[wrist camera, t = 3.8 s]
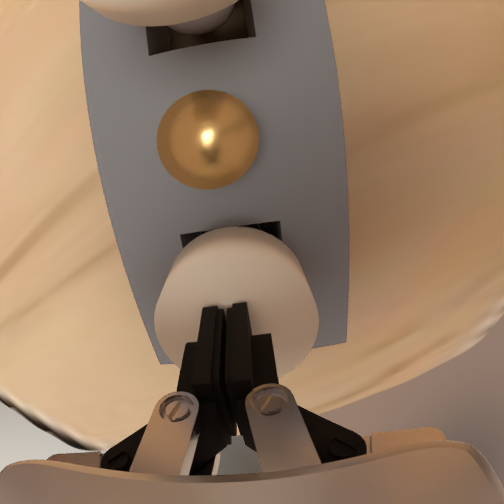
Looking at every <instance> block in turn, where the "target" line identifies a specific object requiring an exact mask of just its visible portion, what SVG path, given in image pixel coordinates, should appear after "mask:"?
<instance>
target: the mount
mask: <svg viewBox="0 0 504 504" xmlns="http://www.w3.org/2000/svg"><path fill="white" fill-rule="evenodd" d="M242 1H243V7H244V14H245V20H246V26H247V33H248V38H242V39H234V40H227V41H220V42H213V43H207V44H202V45H196V46H191V47H186V48H181V49H176V50H172V51H171V44H170V36H169V27H168V26H135V25H128V24H124V23H120V22H116V21H114V20H111V19H109V18H107V17H105V16H104V15H102V14H100V13H99V12H97V11H96V10H94V9H92V8H91V7H89V6H88V5H86V4H85V3H83V2H82V1H80V0H79V8H80V36H81V52H82V64H83V74H84V83H85V92H86V99H87V107H88V113H89V120H90V126H91V132H92V138H93V143H94V149H95V154H96V159H97V164H98V169H99V173H100V178H101V182H102V187H103V191H104V195H105V200H106V204H107V208H108V212H109V215H110V219H111V223H112V227H113V230H114V234H115V237H116V241H117V244H118V248H119V251H120V254H121V258H122V261H123V264H124V267H125V271H126V274H127V277H128V280H129V283H130V286H131V289H132V292H133V295H134V298H135V300H136V303H137V306H138V309H139V312H140V314H141V317H142V320H143V322H144V325H145V328H146V330H147V333H148V335H149V338H150V341H151V343H152V346H153V348H154V350H155V353H156V355H157V358H158V360H159V362H160V364H174V363H173V362H172V361H171V360H170V359H169V357H168V356H167V355H166V354H165V352H164V351H163V349H162V348H161V346H160V344H159V341H158V339H157V336H156V332H155V326H154V313H155V308H156V304H157V302H158V299H159V297H160V294H161V292H162V289H163V287H164V284H165V282H166V280H167V277H168V275H169V272H170V270H171V268H172V265H173V263H174V261H175V259H176V258H177V256H178V254H179V253H180V252H181V251H182V249H183V248H184V247H185V246H186V245H187V244H189V243H190V242H191V241H192V240H194V239H195V238H197V237H198V236H200V235H202V234H201V231H207V230H214V229H219V228H224V227H235V226H242V225H250V224H257V223H265V222H272V221H273V230H274V237H276V238H278V239H279V240H281V241H282V242H283V243H284V244H285V245H287V246H288V247H289V248H290V249H291V251H292V252H293V253H294V254H295V256H296V257H297V259H298V261H299V263H300V265H301V267H302V269H303V272H304V274H305V277H306V280H307V282H308V285H309V287H310V290H311V292H312V295H313V298H314V300H315V303H316V306H317V310H318V316H319V328H318V333H317V337H316V340H315V342H314V345H313V347H312V348H318V347H324V346H329V345H335V344H340V343H345V342H346V337H347V318H348V292H349V215H348V188H347V170H346V155H345V142H344V130H343V120H342V110H341V101H340V93H339V85H338V77H337V70H336V63H335V57H334V50H333V44H332V38H331V32H330V27H329V22H328V16H327V11H326V6H325V1H324V0H242ZM200 90H217V91H222V92H225V93H228V94H230V95H233V96H234V97H236V98H238V99H239V100H240V101H241V102H243V103H244V104H245V105H246V106H247V108H248V109H249V110H250V112H251V113H252V115H253V117H254V119H255V121H256V124H257V127H258V132H259V145H258V150H257V154H256V156H255V159H254V161H253V163H252V165H251V166H250V168H249V169H248V170H247V171H246V173H245V174H244V175H243V176H241V177H240V178H239V179H238V180H236V181H235V182H233V183H231V184H229V185H227V186H224V187H222V188H217V189H210V190H204V189H196V188H192V187H189V186H187V185H184V184H182V183H181V182H179V181H177V180H176V179H175V178H174V177H172V176H171V175H170V174H169V173H168V171H167V170H166V169H165V167H164V166H163V164H162V162H161V160H160V157H159V154H158V150H157V131H158V127H159V124H160V122H161V119H162V117H163V116H164V114H165V112H166V111H167V110H168V108H169V107H170V106H171V105H172V104H173V103H174V102H176V101H177V100H178V99H180V98H181V97H183V96H185V95H187V94H189V93H192V92H195V91H200ZM312 348H311V349H312Z"/></svg>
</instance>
